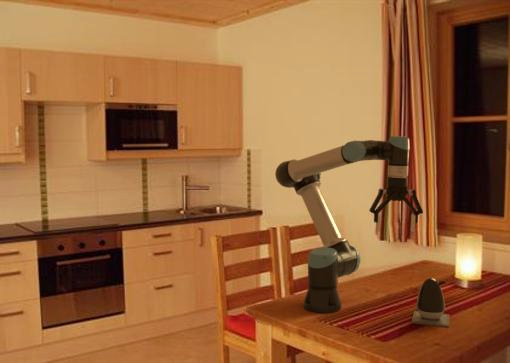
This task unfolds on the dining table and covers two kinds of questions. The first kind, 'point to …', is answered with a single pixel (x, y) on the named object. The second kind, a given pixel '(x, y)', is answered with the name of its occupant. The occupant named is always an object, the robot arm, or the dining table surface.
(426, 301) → the pump dispenser
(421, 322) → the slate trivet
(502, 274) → the dining table surface
